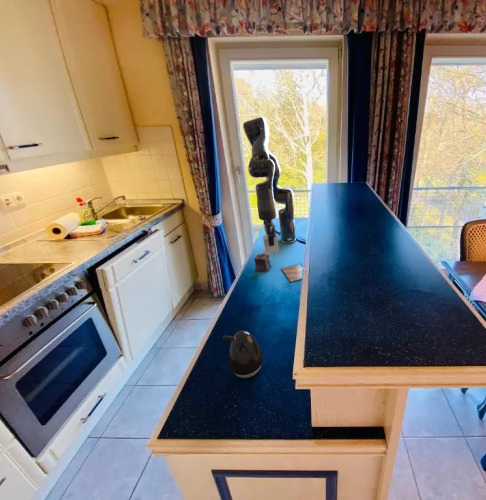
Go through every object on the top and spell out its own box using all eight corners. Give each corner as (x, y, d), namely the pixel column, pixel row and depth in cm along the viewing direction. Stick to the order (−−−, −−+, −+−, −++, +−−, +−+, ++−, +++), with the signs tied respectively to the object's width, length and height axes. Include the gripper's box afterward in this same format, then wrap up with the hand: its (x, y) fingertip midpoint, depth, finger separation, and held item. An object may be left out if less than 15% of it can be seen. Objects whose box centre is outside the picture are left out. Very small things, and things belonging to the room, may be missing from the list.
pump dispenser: (234, 358, 93) (226, 322, 86) (266, 356, 93) (260, 320, 86) (227, 384, 84) (218, 347, 77) (262, 382, 84) (255, 344, 77)
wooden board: (281, 269, 145) (281, 268, 145) (299, 264, 148) (299, 264, 148) (290, 282, 133) (290, 281, 133) (309, 277, 137) (309, 276, 137)
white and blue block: (266, 255, 127) (263, 236, 123) (264, 251, 131) (262, 233, 127) (279, 252, 129) (277, 234, 125) (277, 249, 132) (275, 231, 128)
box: (266, 271, 143) (265, 259, 140) (255, 271, 144) (253, 258, 141) (270, 266, 148) (269, 253, 145) (260, 265, 149) (258, 253, 146)
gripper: (255, 204, 126) (260, 239, 133) (260, 213, 113) (265, 251, 121) (272, 202, 128) (275, 236, 135) (278, 211, 115) (282, 248, 123)
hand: (270, 243), depth 128 cm, fingers closed on white and blue block, 4 cm apart
